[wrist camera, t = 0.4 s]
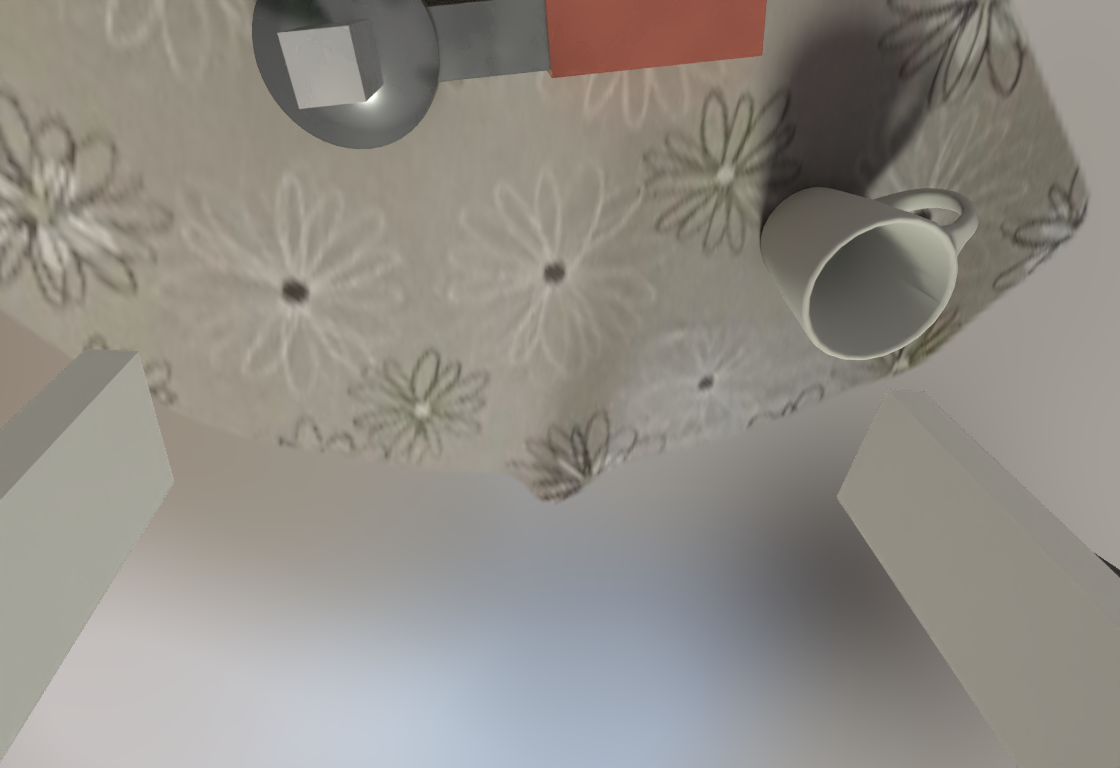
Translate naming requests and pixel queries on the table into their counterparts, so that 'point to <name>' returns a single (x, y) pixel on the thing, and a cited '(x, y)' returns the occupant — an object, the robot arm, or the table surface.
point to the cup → (865, 265)
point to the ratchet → (469, 50)
